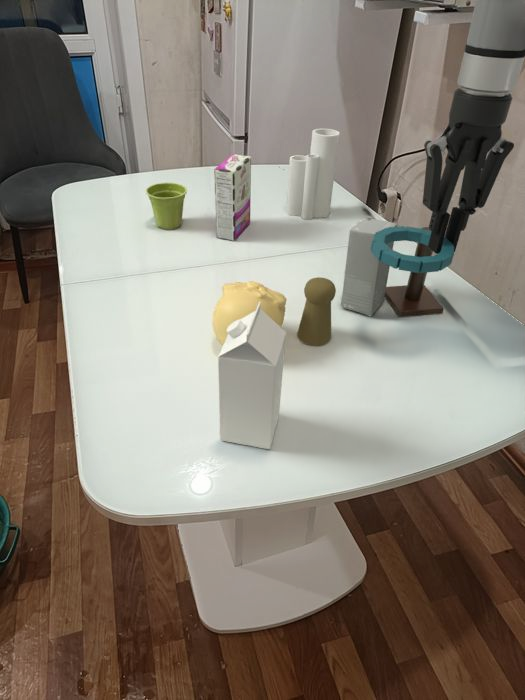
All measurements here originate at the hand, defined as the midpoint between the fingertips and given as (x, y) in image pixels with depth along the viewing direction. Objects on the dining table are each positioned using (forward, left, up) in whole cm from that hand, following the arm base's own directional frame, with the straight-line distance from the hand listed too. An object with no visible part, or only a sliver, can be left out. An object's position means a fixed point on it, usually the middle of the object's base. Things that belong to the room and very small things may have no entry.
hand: (441, 248), depth 83 cm
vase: (+7, -53, -16) cm, 56 cm away
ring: (+5, 0, 0) cm, 5 cm away
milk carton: (+35, +19, -16) cm, 43 cm away
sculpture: (+32, -1, -16) cm, 36 cm away
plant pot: (+43, -50, -16) cm, 68 cm away
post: (-2, -9, -16) cm, 19 cm away
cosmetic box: (+8, -10, -16) cm, 20 cm away
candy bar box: (+28, -45, -16) cm, 55 cm away
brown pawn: (+20, -1, -16) cm, 26 cm away
